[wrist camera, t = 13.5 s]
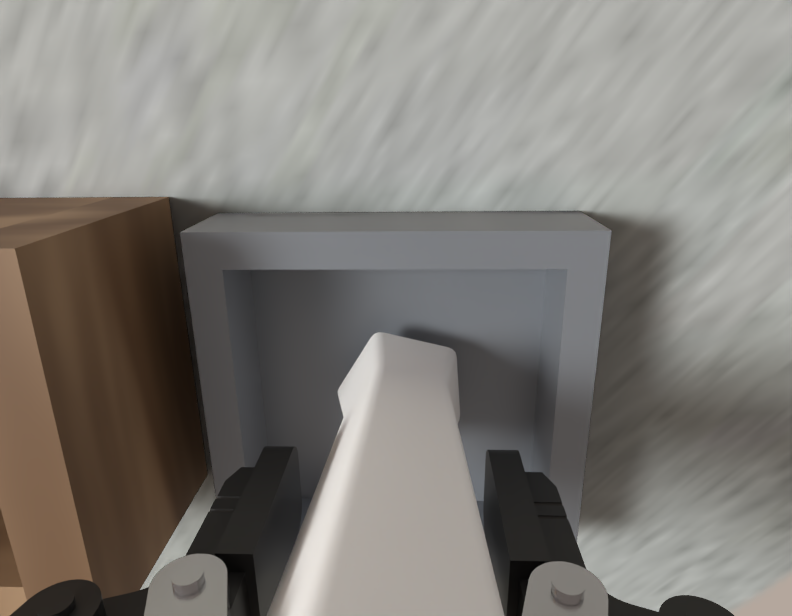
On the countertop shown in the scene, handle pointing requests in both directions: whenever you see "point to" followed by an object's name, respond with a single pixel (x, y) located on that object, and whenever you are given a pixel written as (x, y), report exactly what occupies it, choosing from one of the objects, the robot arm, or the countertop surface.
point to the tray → (399, 328)
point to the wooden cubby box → (92, 394)
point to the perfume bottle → (393, 499)
